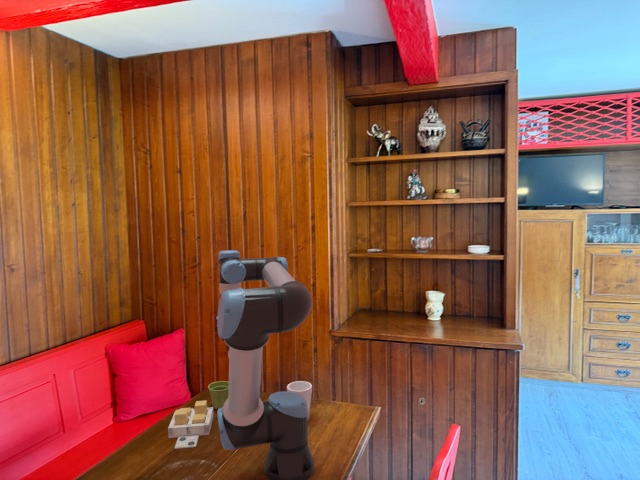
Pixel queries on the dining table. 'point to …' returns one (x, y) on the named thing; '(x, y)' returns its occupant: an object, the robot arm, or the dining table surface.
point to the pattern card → (186, 442)
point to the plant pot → (219, 393)
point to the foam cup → (302, 391)
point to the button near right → (198, 419)
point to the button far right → (201, 407)
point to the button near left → (181, 417)
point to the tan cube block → (188, 410)
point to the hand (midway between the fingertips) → (232, 358)
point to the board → (191, 426)
